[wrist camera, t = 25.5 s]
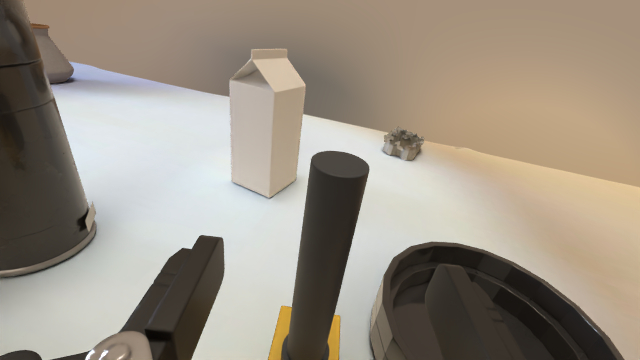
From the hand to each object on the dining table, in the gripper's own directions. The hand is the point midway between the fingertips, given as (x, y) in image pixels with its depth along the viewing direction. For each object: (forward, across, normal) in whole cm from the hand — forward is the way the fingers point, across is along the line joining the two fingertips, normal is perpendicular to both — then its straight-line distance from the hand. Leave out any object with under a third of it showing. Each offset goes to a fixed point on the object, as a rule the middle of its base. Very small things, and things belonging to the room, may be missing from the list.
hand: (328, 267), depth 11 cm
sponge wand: (+3, 0, +15) cm, 15 cm away
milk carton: (+31, +8, +15) cm, 35 cm away
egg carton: (+52, -19, +15) cm, 58 cm away
